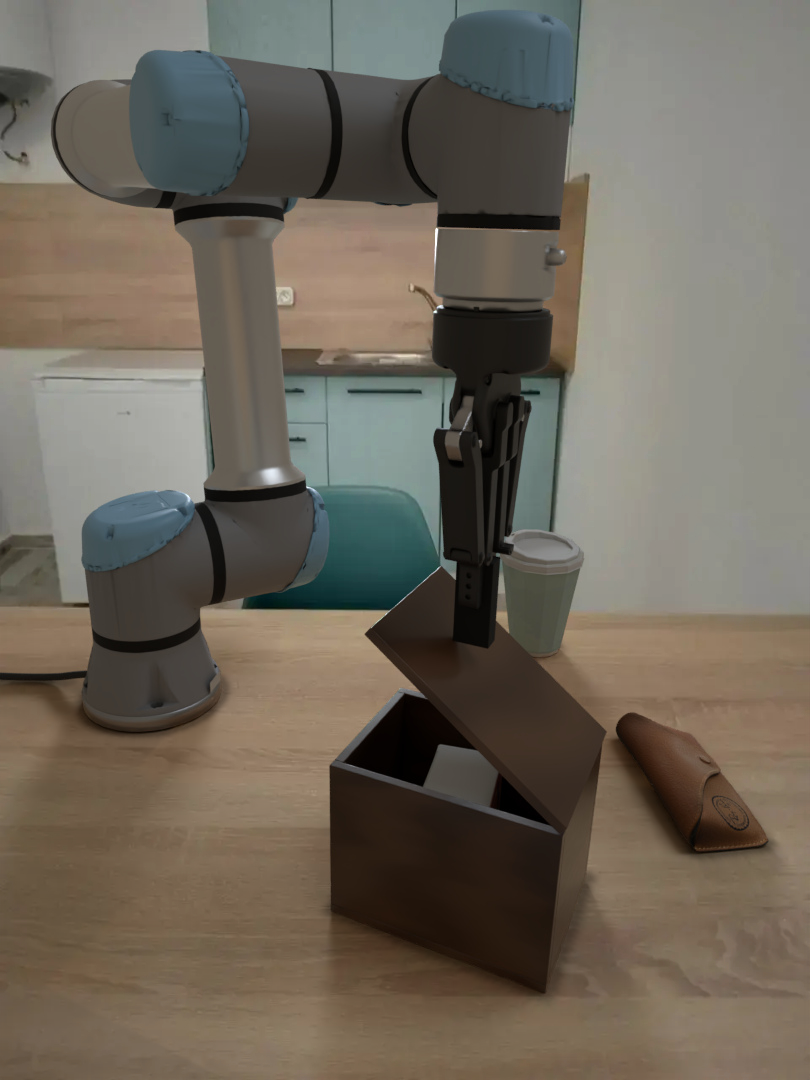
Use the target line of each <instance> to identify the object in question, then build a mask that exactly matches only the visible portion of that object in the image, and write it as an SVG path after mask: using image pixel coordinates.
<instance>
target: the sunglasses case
mask: <svg viewBox="0 0 810 1080" xmlns="http://www.w3.org/2000/svg"><path fill="white" fill-rule="evenodd" d="M615 732H616V736H617V737H618V739H619V741H621V743H622V745H623V746H624V747H625V749H626V750H627V751H628V753H629V754H630V755H631V758H632V759H633V760H634V762H636V764H637V765H638V766H639V768H640V770H641V771H642V773H643V774H644V776H645V778H646V780H647V781H648V782H649V784H650V785H651V787H652V788H653V790H654V791H655V793H656V795H657V796H658V798H659V800H660V802H662V804H663V806H664V808H665V809H666V810H667V812H668V814H669V815H670V817H671V818H672V820H673V822H674V824H675V826H676V827H677V829H678V830H679V831H680V832H681V835H682V836H683V838H684V840H686V841H687V843H688V844H689V845H690V846H691V847H692V849H693V850H694V851H696V852H698V853H706V852H707V853H709V852H710V853H712V852H714V853H715V852H716V853H717V852H730V851H738V850H746V849H753V848H758V847H763V846H765V845H767V844H768V843H769V837H768V836H767V834H766V832H765V830H764V829H763V827H762V825H761V824H760V822H759V821H758V819H757V818H756V817H755V815H754V814H753V812H752V811H751V809H750V808H749V806H748V805H747V803H746V802H745V801H744V800H743V798H742V797H741V796H740V794H739V793H738V792H737V790H736V789H735V788H734V786H733V785H732V784H731V782H730V781H729V780H728V779H727V777H725V775H724V774H723V772H722V771H721V767H720V766H719V765H718V763H717V762H716V760H715V759H714V758H713V757H712V756H711V755H710V754H709V753H707V751H706V750H705V749H704V748H703V746H702V745H701V744H700V742H698V740H697V739H696V737H694V736H693V734H691V733H689V732H686V731H682V730H679V729H676V728H673V727H670V726H668V725H663V724H661V723H658V722H656V721H655V720H653V719H651V718H648V717H646V716H644V715H641V714H639V713H638V712H633V711H632V712H627V713H625V714H623V715H622V717H620V718H619V719H618V721H617V723H616V726H615Z"/></svg>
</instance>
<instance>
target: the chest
mask: <svg viewBox="0 0 810 1080" xmlns="http://www.w3.org/2000/svg"><path fill="white" fill-rule="evenodd" d="M440 744H441V745H447V746H453V747H459V748H465V749H471V750H477V749H476V748H475V747H474V746H473V745H472V744H471V743H470V742H469V741H468V740H467V739H466V738H465V737H464V736H463V735H462V734H461V733H460V732H459V731H458V730H457V729H456V728H455V727H454V726H453V725H452V724H451V723H450V722H449V721H448V720H447V719H446V718H445V717H444V716H443V715H442V714H441V712H440V711H439V710H438V709H437V708H436V707H435V706H434V705H433V704H432V703H431V702H430V701H429V700H428V699H427V698H426V697H425V696H424V695H423V694H422V693H421V692H420V691H416V690H412V689H409V688H404V687H399V689H398V690H397V691H396V692H395V693H394V694H393V696H391V698H390V699H389V700H388V701H387V702H386V703H385V704H384V705H383V706H382V707H381V709H380V710H379V711H378V712H376V714H375V715H374V716H373V717H372V719H370V720H369V722H368V723H367V724H366V725H365V726H364V727H363V728H362V729H361V730H360V732H358V734H357V735H356V736H355V737H354V738H353V739H352V740H351V741H350V742H349V744H347V746H346V747H345V748H344V749H343V750H342V751H341V752H340V753H339V754H338V755H337V757H335V758H334V760H333V761H332V762H330V764H329V767H328V768H329V774H328V775H329V857H330V858H329V865H330V866H329V869H330V870H329V871H330V872H329V875H330V876H329V877H330V878H329V879H330V880H329V881H330V912H332V913H335V914H338V915H339V916H343V917H345V918H348V919H350V920H352V921H355V922H358V923H361V924H364V925H366V926H368V927H371V928H373V929H377V930H379V931H382V932H384V933H387V934H390V935H392V936H395V937H397V938H400V939H403V940H405V941H407V942H410V943H413V944H415V945H418V946H420V947H424V948H426V949H428V950H431V951H434V952H436V953H439V954H441V955H444V956H447V957H449V958H451V959H455V960H457V961H459V962H462V963H465V964H468V965H470V966H473V967H475V968H477V969H480V970H482V971H486V972H488V973H490V974H493V975H496V976H499V977H501V978H504V979H507V980H509V981H512V982H514V983H517V984H519V985H522V986H525V987H527V988H529V989H532V990H535V991H538V992H540V993H543V994H546V993H547V990H548V988H549V984H550V982H551V978H552V975H553V974H554V971H555V968H556V965H557V962H558V959H559V955H560V953H561V950H562V947H563V945H564V941H565V939H566V936H567V933H568V930H569V927H570V924H571V923H572V922H571V921H572V919H573V916H574V914H575V910H576V907H577V904H578V902H579V898H580V896H581V893H582V890H583V888H584V884H585V882H586V879H587V872H588V864H589V863H588V862H589V855H590V848H591V839H592V831H593V823H594V816H595V807H596V799H597V791H598V784H599V775H600V768H601V767H600V766H601V760H602V752H603V751H602V750H603V744H604V742H603V743H602V745H601V748H600V750H599V752H598V755H597V757H596V760H595V762H594V765H593V767H592V769H591V772H590V774H589V777H588V779H587V782H586V784H585V786H584V789H583V791H582V794H581V796H580V799H579V801H578V803H577V806H576V808H575V811H574V813H573V816H572V818H571V820H570V823H569V825H568V828H567V829H566V830H564V831H563V832H562V833H560V834H559V833H558V832H557V831H556V830H555V829H554V828H553V827H552V826H551V825H550V824H549V823H548V822H547V821H546V820H545V819H544V818H543V817H542V816H541V815H540V814H539V813H538V812H537V811H536V810H535V809H534V808H533V807H532V806H531V805H530V804H529V803H528V802H527V801H526V800H525V799H524V797H523V796H522V795H521V794H520V793H519V792H518V791H517V790H516V789H515V788H514V787H513V786H512V785H511V784H510V783H509V782H508V781H507V780H506V779H505V778H504V777H503V776H502V784H501V796H500V807H499V810H497V809H493V808H490V807H487V806H484V805H480V804H477V803H474V802H470V801H467V800H464V799H461V798H457V797H454V796H451V795H447V794H444V793H441V792H438V791H434V790H431V789H428V788H424V787H423V785H424V783H425V780H426V778H427V775H428V773H429V770H430V768H431V765H432V762H433V760H434V757H435V754H436V751H437V747H438V745H440ZM477 751H478V750H477Z"/></svg>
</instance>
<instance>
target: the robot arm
mask: <svg viewBox="0 0 810 1080" xmlns="http://www.w3.org/2000/svg"><path fill="white" fill-rule="evenodd" d="M134 70H135V71H134V73H133V75H132V77H131V79H129V78H128V79H127V78H126V79H95V80H90V81H87V82H84V83H81V84H78V85H76V86H74V87H73V88H71V89H70V90H69V91H68V92H67V93H65V94H64V95H63V96H62V97H61V98H60V99H59V101H58V102H57V105H56V106H55V108H54V110H53V113H52V114H53V115H52V117H51V120H50V121H51V122H50V123H51V124H50V139H51V146H52V149H53V151H54V155H55V157H56V159H57V161H58V163H59V165H60V167H61V168H62V170H63V172H65V173H66V175H67V177H69V178H70V180H71V181H73V182H74V183H75V184H76V185H77V186H79V187H81V188H82V189H83V190H85V191H86V192H88V193H90V194H92V195H95V196H96V197H99V198H101V199H104V200H107V201H110V202H114V203H117V204H121V205H125V206H131V207H136V208H137V207H138V208H149V209H165V210H171V211H172V216H173V224H174V230H175V232H176V233H178V235H180V237H182V239H184V240H185V241H186V242H187V243H188V244H189V246H190V247H191V253H192V262H193V271H194V272H193V273H194V280H195V290H196V301H197V307H198V308H197V310H198V318H199V319H198V320H199V327H200V336H201V337H200V338H201V347H202V355H203V356H202V357H203V364H204V375H205V385H206V392H207V393H206V394H207V402H208V412H209V421H210V430H211V440H212V449H213V459H214V468H213V471H212V472H211V474H210V475H209V476H207V478H206V479H205V480H204V482H202V483H203V484H202V485H203V493H204V501H199V502H194V501H193V500H192V498H191V497H190V496H189V494H187V493H185V492H183V491H180V490H174V489H171V490H170V489H165V490H161V491H158V490H157V489H156V490H155V489H154V490H145V491H140V492H135V493H131V494H127V495H123V496H121V497H118V498H115V499H112V500H109V501H108V502H105V503H103V504H101V505H100V506H98V507H97V508H96V509H95V510H93V511H91V513H90V514H89V515H88V516H87V517H86V518H85V520H84V521H83V524H82V527H81V558H80V559H81V565H82V567H83V568H84V575H85V576H84V577H85V584H86V592H87V599H88V600H87V601H88V608H89V617H90V626H91V633H92V634H91V635H92V646H91V650H90V654H89V658H88V664H87V668H86V670H74V671H66V672H65V671H64V672H50V673H49V672H47V673H45V672H44V673H43V672H41V673H38V672H36V673H34V672H33V673H31V672H30V673H29V672H2V671H1V672H0V681H22V682H23V681H25V682H27V681H28V682H47V681H48V682H49V681H51V682H52V681H53V682H54V681H68V680H75V679H84V680H83V682H82V686H81V697H82V707H83V711H84V713H85V715H86V716H87V718H89V719H90V720H91V721H92V722H94V723H95V724H96V725H99V726H101V727H104V728H107V729H109V730H114V731H121V732H131V733H133V732H136V733H142V732H153V731H160V730H165V729H169V728H173V727H177V726H180V725H183V724H186V723H188V722H190V721H192V720H195V719H197V718H198V717H201V716H202V715H204V714H205V713H207V712H208V711H209V710H210V709H211V708H212V707H213V706H214V705H215V704H216V703H217V702H218V700H219V699H220V696H221V693H222V678H221V677H222V676H221V675H222V674H221V669H220V668H219V666H218V664H217V662H216V660H215V659H214V658H213V657H212V654H211V650H210V647H209V645H208V642H207V640H206V638H205V635H204V632H203V629H202V621H201V608H203V607H207V606H212V605H216V604H222V603H227V602H231V601H237V600H241V599H245V598H246V599H247V598H251V597H256V596H261V595H266V594H271V593H278V594H279V593H284V592H286V591H288V590H289V589H293V588H297V587H301V586H304V585H307V584H309V583H311V582H313V581H314V580H315V579H316V578H317V577H318V575H319V574H320V572H321V571H322V570H323V568H324V566H325V563H326V560H327V557H328V553H329V548H330V547H329V545H330V520H329V515H328V512H327V511H326V510H325V507H326V505H325V502H324V499H323V497H322V495H321V494H320V493H319V492H318V490H316V489H314V488H312V487H310V486H307V480H306V479H307V478H306V474H305V473H304V472H303V471H302V470H300V469H299V468H298V467H297V466H296V465H294V463H293V462H292V455H291V444H290V435H289V424H288V423H289V422H288V412H287V401H286V388H285V387H286V386H285V376H284V365H283V364H284V363H283V353H282V342H281V340H282V339H281V331H280V329H281V328H280V318H279V309H278V307H279V306H278V297H277V296H278V293H277V285H276V284H277V283H276V271H275V264H274V263H275V260H274V250H273V243H274V241H275V239H276V238H277V237H278V236H279V235H280V234H281V232H282V231H283V230H284V229H285V225H286V224H285V214H287V213H289V212H291V211H293V209H294V208H295V207H296V205H297V203H298V201H299V199H305V200H325V201H326V200H327V201H346V202H365V203H372V204H376V205H378V206H379V205H380V206H396V207H400V208H402V207H409V206H412V205H413V204H414V205H415V204H429V203H430V204H432V203H437V204H436V205H437V206H436V211H437V212H436V215H437V216H436V228H435V242H434V243H435V245H434V262H433V263H434V266H433V287H432V292H433V293H434V295H435V296H436V297H438V298H442V304H440V305H438V306H436V309H435V310H433V312H432V338H431V339H432V340H431V341H432V342H431V359H432V361H433V363H434V364H435V365H436V366H437V367H440V368H442V369H444V370H445V369H446V370H451V371H452V372H453V373H454V374H455V378H456V379H455V381H454V389H453V393H452V397H451V399H450V401H449V407H448V422H449V424H450V427H449V428H446V427H436V429H435V430H434V432H433V436H432V437H433V438H432V442H433V447H434V448H433V449H434V451H435V455H436V459H437V463H438V476H439V479H438V480H439V493H440V495H439V497H440V511H441V512H440V513H441V529H442V545H443V551H442V556H443V558H444V560H447V561H451V562H456V563H455V564H456V565H455V580H456V583H455V603H454V624H453V641H456V642H460V643H465V644H469V645H473V646H478V647H482V648H487V649H488V648H489V647H490V646H491V644H492V643H493V642H494V640H495V629H496V621H497V615H498V598H499V584H500V583H499V582H500V568H501V558H500V557H499V556H497V554H499V555H500V554H505V555H511V554H512V552H513V549H514V544H509V543H505V537H506V538H507V537H509V536H510V535H511V533H513V525H514V524H513V523H514V516H515V509H516V501H517V494H518V487H519V482H520V481H519V480H520V473H521V466H522V460H523V452H524V445H525V438H526V431H527V428H528V424H529V419H530V416H531V412H532V408H533V407H532V402H531V400H528V399H525V397H524V396H523V395H521V394H522V393H521V392H522V378H521V375H525V374H531V373H532V374H533V373H537V372H540V371H542V370H544V369H546V368H547V367H548V365H549V363H550V359H551V350H552V349H551V347H552V336H553V335H552V334H553V326H554V325H553V324H554V315H553V314H552V313H551V310H550V309H549V308H545V307H544V302H545V301H546V302H547V301H550V300H551V299H552V298H554V296H555V290H556V277H557V269H556V268H557V267H560V266H564V264H566V262H567V258H568V255H567V253H566V250H565V249H563V248H558V245H559V241H560V240H559V239H560V238H559V237H560V230H561V223H562V222H561V221H562V219H561V218H562V211H563V199H564V190H565V177H566V169H567V168H566V166H567V157H568V145H569V135H570V126H571V125H570V123H571V113H572V110H573V108H574V104H575V99H574V98H573V83H574V79H573V77H574V39H573V35H572V32H571V29H570V27H569V26H568V25H567V24H566V23H565V22H564V21H562V20H561V19H559V18H557V17H555V15H551V14H548V13H542V12H537V11H532V10H526V9H525V10H523V9H490V10H480V11H474V12H469V13H466V14H463V15H461V16H458V17H457V18H454V19H453V20H452V21H451V22H450V24H449V26H448V28H447V30H446V32H445V33H444V36H443V42H442V50H441V57H440V60H439V63H438V72H440V73H437V74H435V75H432V76H426V77H421V78H415V79H398V78H391V77H383V76H376V75H369V74H360V73H353V72H344V71H336V70H328V69H320V68H313V67H307V68H305V67H300V66H299V67H298V66H291V65H285V64H278V63H271V62H264V61H257V60H250V59H244V58H237V57H230V56H223V55H217V54H214V53H212V52H211V51H207V50H200V49H199V50H198V49H197V50H196V49H195V50H192V49H188V50H183V51H180V50H168V49H154V50H149V51H147V52H145V53H143V55H142V56H140V58H139V59H138V60H137V63H136V64H135V69H134Z"/></svg>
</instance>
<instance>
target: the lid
mask: <svg viewBox="0 0 810 1080" xmlns="http://www.w3.org/2000/svg"><path fill="white" fill-rule="evenodd" d="M455 583H456V578H455V577H454V576H452V574H450V572H448V571H447V570H446V569H445V568H444V567H443V566H442V565H440V566H439V567H438V568H437V569H435V571H433V572H431V574H429V576H427V577H426V578H425V579H424V580H423V581H422V582H421V583H420V584H418V585H417V586H416V587H415V588H414V589H412V591H410V592H409V593H408V594H406V596H405V597H404V598H402V599H401V600H400V601H399V602H398V603H397V604H396V605H395V606H393V607H392V608H391V609H390V610H389V611H388V612H386V613H385V614H384V615H383V616H381V618H380V619H378V620H377V621H376V622H375V623H374V624H372V625H371V627H369V628H368V629H367V631H365V632H364V636H365V637H366V638H367V639H368V640H369V641H370V642H371V643H372V644H373V645H374V646H375V647H376V648H377V650H379V652H381V654H383V655H384V657H386V658H387V660H388V661H390V662H391V664H393V666H394V667H395V668H396V669H397V670H398V671H399V672H400V673H401V674H402V675H403V676H404V677H405V678H406V679H407V680H408V681H409V682H410V683H411V684H412V685H413V686H414V687H415V688H416V689H417V690H418V692H421V693H422V694H423V695H424V696H425V697H426V698H427V699H428V700H429V701H430V702H431V703H432V704H433V705H434V706H435V707H436V708H437V709H438V710H439V711H440V712H441V714H442V715H443V716H444V717H445V718H446V719H447V720H448V721H449V722H450V723H451V724H452V725H453V726H454V727H455V728H456V729H457V730H458V731H459V732H460V733H461V734H462V735H463V736H464V737H465V738H466V739H467V740H468V741H469V742H470V743H471V744H472V745H473V746H474V747H475V748H476V749H477V750H478V751H479V752H480V753H481V754H482V755H483V757H484V758H485V759H486V760H487V761H488V762H489V763H490V764H491V765H492V766H493V767H494V768H495V769H496V770H497V771H498V772H499V773H500V774H501V775H502V776H503V777H504V778H505V779H506V780H507V781H508V782H509V783H510V784H511V785H512V786H513V787H514V788H515V789H516V790H517V791H518V792H519V793H520V794H521V795H522V796H523V797H524V799H525V800H526V801H527V802H528V803H529V804H530V805H531V806H532V807H533V808H534V809H535V810H536V811H537V812H538V813H539V814H540V815H541V816H542V817H543V818H544V819H545V820H546V821H547V822H548V823H549V824H550V825H551V826H552V827H553V828H554V829H555V830H556V831H557V832H558V833H559V834H560V833H562V832H563V831H564V830H566V829H567V828H568V825H569V823H570V820H571V818H572V816H573V813H574V811H575V808H576V806H577V803H578V801H579V799H580V796H581V794H582V791H583V789H584V786H585V784H586V782H587V779H588V777H589V774H590V772H591V769H592V767H593V765H594V762H595V760H596V757H597V755H598V752H599V750H600V748H601V745H602V746H603V744H604V741H605V737H606V736H607V733H608V731H607V729H605V728H604V727H603V726H602V724H600V723H599V722H598V721H597V720H596V719H595V718H594V717H593V716H592V715H591V714H590V713H589V712H588V711H587V710H586V709H585V708H584V707H583V706H582V705H581V704H580V703H579V702H578V701H577V700H576V699H575V698H574V696H572V695H571V694H570V693H569V692H568V691H567V689H565V688H564V687H563V686H562V685H561V683H559V682H558V681H557V680H556V679H555V678H554V677H553V676H552V675H551V674H550V672H548V671H547V670H546V669H545V668H544V667H543V666H542V665H541V664H540V663H539V662H538V661H537V660H536V659H535V657H532V656H531V655H530V654H529V653H528V652H527V651H526V650H525V649H524V648H523V647H522V646H521V645H520V644H519V643H518V642H517V641H516V640H515V639H514V638H513V637H512V636H511V635H510V634H509V631H507V630H506V629H505V627H503V625H501V623H499V622H498V621H497V620H496V629H495V640H494V642H493V643H492V644H491V646H490V647H489V648H488V649H487V648H482V647H478V646H473V645H469V644H465V643H460V642H456V641H453V624H454V603H455ZM602 743H603V744H602Z"/></svg>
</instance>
